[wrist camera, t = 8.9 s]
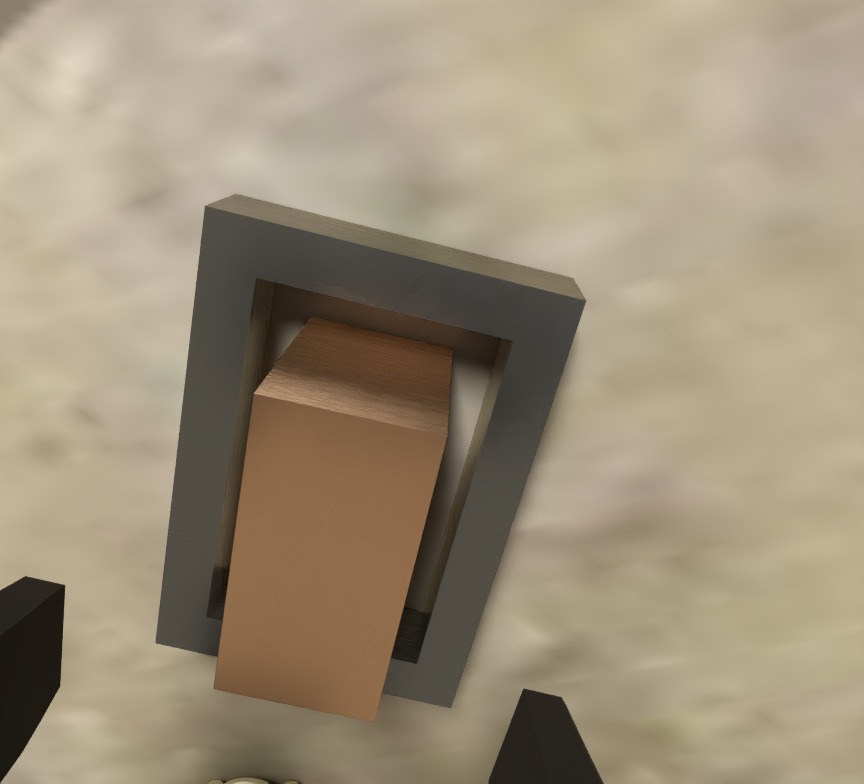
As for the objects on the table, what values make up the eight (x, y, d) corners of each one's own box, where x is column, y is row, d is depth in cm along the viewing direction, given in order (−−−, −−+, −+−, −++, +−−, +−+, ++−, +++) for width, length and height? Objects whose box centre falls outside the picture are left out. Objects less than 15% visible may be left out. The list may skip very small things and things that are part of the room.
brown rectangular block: (395, 578, 20) (374, 722, 15) (272, 552, 20) (213, 689, 15) (452, 347, 17) (447, 436, 13) (311, 315, 17) (253, 393, 12)
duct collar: (572, 278, 16) (586, 300, 14) (452, 654, 21) (450, 708, 19) (235, 194, 16) (205, 205, 14) (184, 593, 20) (155, 642, 18)
